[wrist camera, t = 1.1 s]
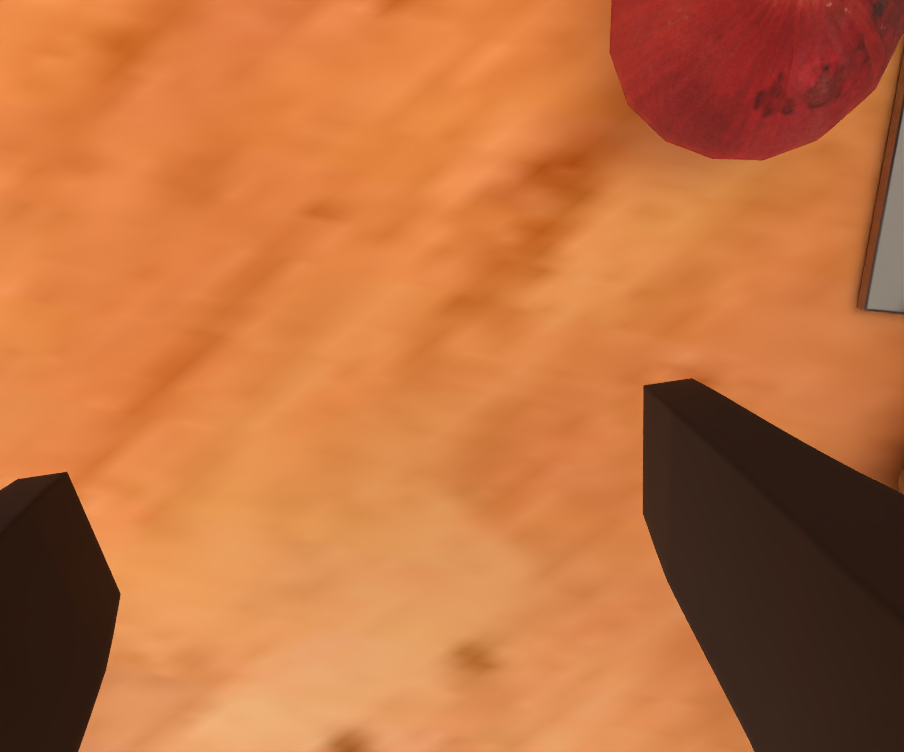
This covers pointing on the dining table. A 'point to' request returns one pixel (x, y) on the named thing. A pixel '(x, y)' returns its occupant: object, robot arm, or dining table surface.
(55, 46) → the dining table surface
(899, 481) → the fennel bulb
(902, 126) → the slate board
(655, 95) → the onion
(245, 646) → the dining table surface
